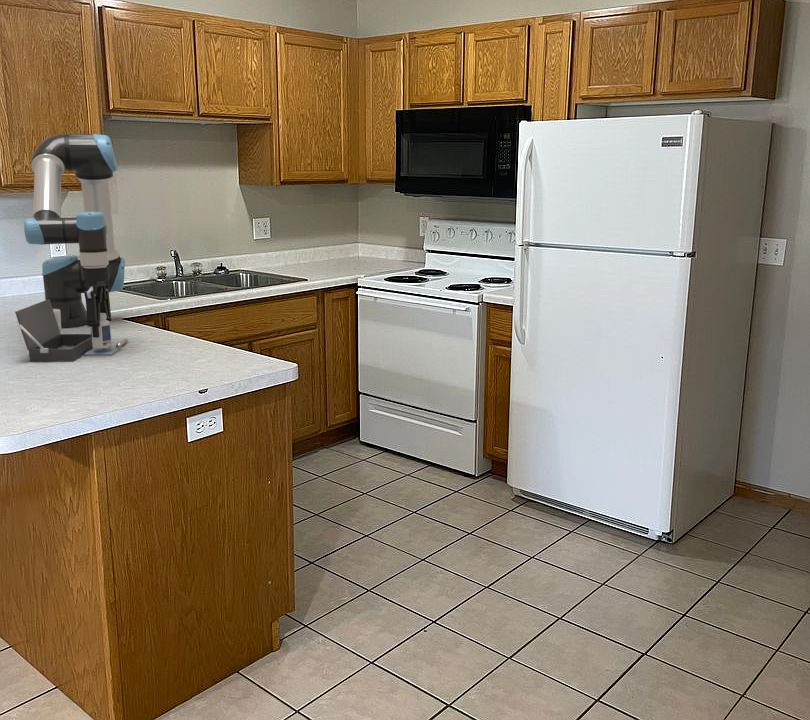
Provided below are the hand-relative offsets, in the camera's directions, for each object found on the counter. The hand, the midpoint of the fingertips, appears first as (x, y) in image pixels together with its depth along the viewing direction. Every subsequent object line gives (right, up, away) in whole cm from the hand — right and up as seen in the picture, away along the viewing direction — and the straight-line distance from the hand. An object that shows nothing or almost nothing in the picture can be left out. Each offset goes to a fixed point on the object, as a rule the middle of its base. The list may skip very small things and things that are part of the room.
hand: (101, 345), depth 239 cm
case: (-12, -2, 0) cm, 12 cm away
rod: (+2, 0, +10) cm, 11 cm away
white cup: (-22, +1, +15) cm, 26 cm away
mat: (0, -2, +1) cm, 2 cm away
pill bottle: (0, -1, 0) cm, 0 cm away
